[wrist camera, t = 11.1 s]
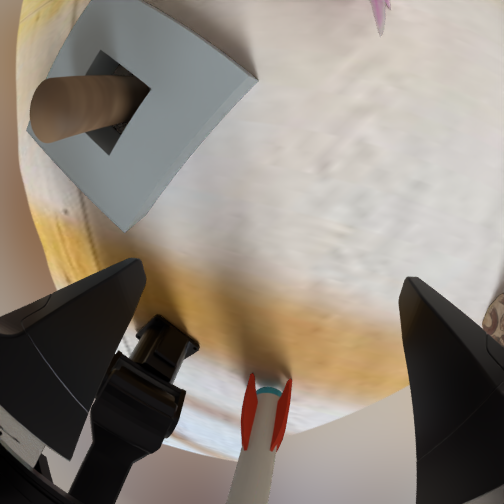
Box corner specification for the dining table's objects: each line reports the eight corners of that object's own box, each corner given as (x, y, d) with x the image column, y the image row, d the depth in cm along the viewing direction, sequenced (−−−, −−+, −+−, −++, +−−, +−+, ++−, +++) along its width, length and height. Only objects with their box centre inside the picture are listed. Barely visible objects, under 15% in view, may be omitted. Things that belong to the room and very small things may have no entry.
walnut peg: (132, 130, 20) (53, 156, 12) (104, 105, 19) (23, 122, 11) (158, 91, 18) (78, 97, 10) (127, 67, 17) (45, 67, 9)
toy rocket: (289, 398, 34) (251, 598, 9) (249, 393, 35) (198, 589, 10) (294, 377, 32) (252, 609, 6) (249, 372, 32) (188, 598, 7)
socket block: (145, 215, 24) (124, 233, 21) (50, 123, 20) (26, 130, 17) (258, 80, 17) (249, 76, 14) (128, -8, 13) (103, -17, 10)
